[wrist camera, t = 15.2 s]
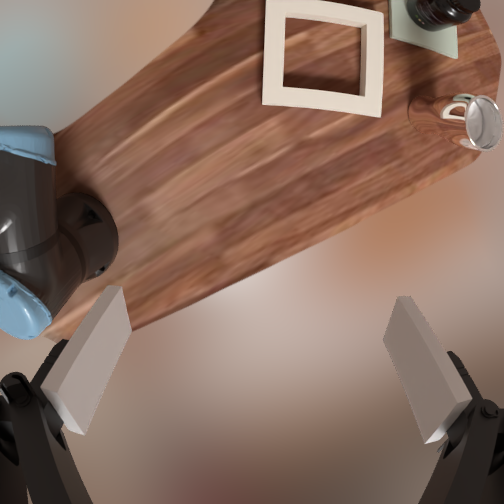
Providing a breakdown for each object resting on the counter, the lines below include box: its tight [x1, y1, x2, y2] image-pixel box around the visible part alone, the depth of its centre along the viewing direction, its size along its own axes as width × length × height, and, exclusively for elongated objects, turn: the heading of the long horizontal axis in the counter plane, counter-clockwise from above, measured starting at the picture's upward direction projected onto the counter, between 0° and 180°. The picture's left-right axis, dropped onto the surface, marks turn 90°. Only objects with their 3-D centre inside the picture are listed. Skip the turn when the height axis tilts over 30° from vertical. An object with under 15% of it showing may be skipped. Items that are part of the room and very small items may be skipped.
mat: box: [389, 0, 458, 59], centre depth 29 cm, size 12×12×1 cm
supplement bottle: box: [407, 0, 480, 32], centre depth 23 cm, size 7×7×12 cm
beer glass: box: [408, 93, 503, 152], centre depth 30 cm, size 7×7×15 cm
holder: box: [262, 0, 384, 117], centre depth 33 cm, size 16×16×2 cm
